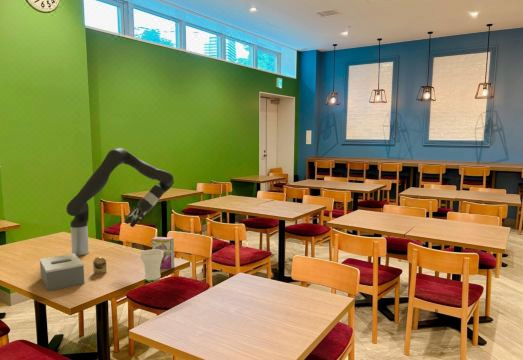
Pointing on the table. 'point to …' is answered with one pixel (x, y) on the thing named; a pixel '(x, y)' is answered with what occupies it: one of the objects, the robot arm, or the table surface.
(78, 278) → the coin box
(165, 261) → the candy bar box
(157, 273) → the cup
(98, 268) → the token
